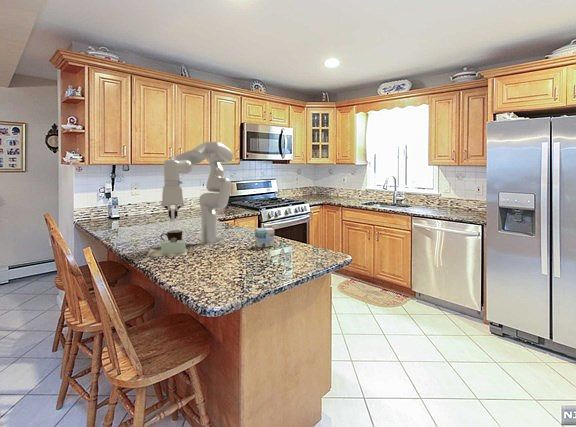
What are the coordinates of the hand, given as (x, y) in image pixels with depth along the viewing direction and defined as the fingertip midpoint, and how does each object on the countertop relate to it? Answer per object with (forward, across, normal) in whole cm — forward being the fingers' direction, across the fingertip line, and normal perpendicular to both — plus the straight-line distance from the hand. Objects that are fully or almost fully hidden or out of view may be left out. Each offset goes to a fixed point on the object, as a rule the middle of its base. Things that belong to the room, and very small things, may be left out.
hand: (173, 217), depth 190 cm
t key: (+1, 0, 0) cm, 1 cm away
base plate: (+20, +3, 0) cm, 21 cm away
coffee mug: (+21, +2, -18) cm, 27 cm away
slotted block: (+19, 0, 0) cm, 19 cm away
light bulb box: (+21, -52, -15) cm, 58 cm away
